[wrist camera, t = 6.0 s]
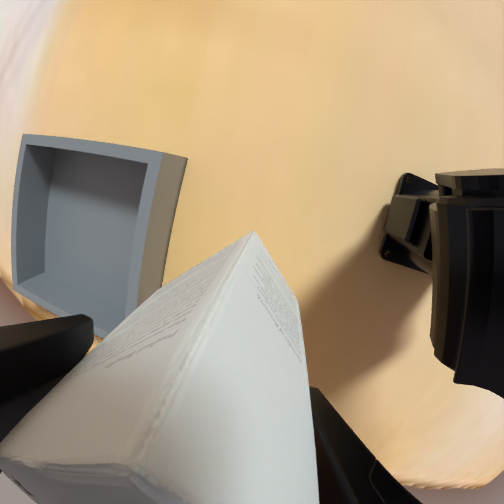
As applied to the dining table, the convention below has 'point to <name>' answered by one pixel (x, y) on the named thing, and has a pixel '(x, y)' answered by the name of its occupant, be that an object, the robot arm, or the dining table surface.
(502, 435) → the dining table surface
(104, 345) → the skincare box
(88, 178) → the box
